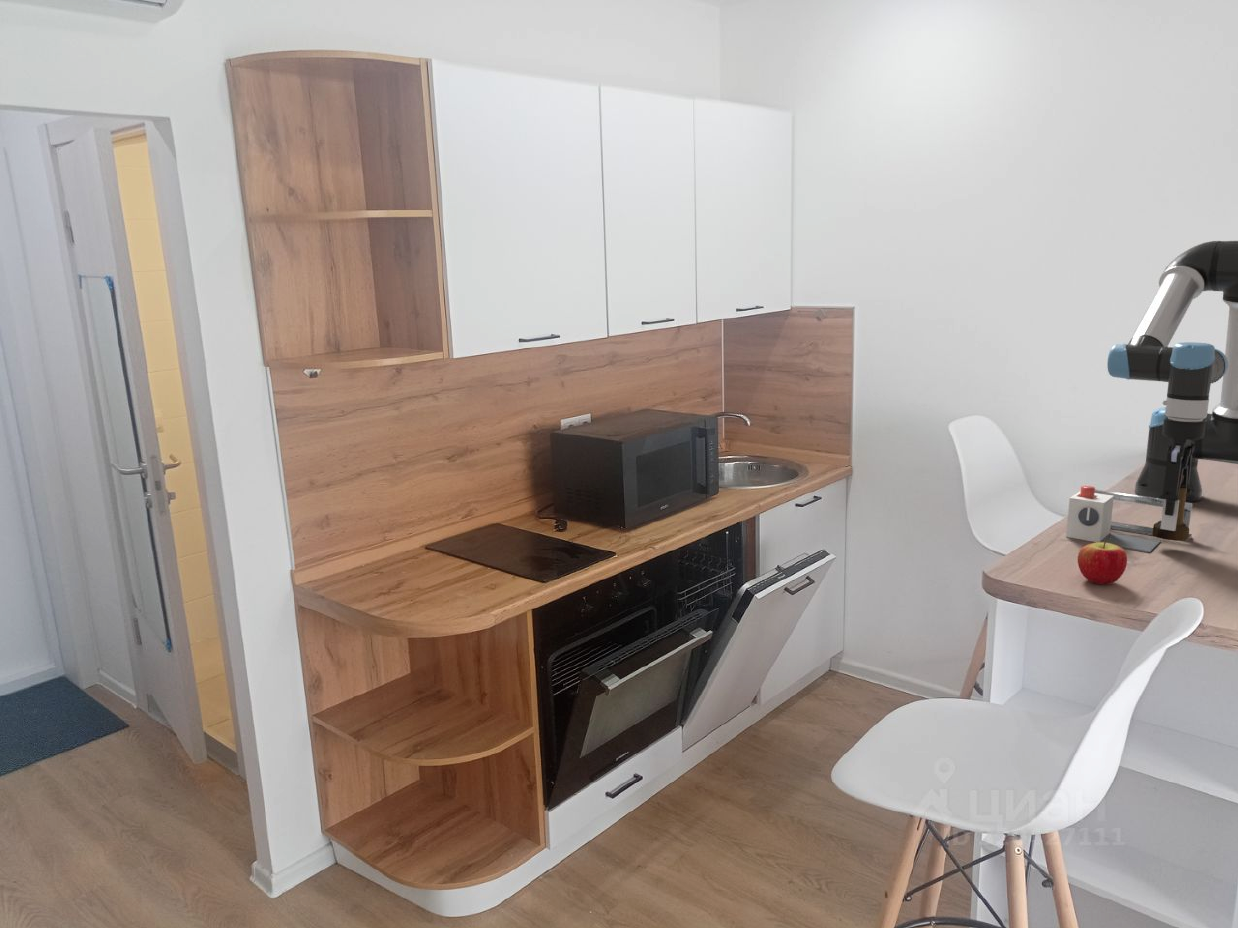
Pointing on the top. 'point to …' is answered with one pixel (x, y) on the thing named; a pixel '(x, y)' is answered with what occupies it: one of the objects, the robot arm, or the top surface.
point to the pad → (1131, 542)
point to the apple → (1102, 562)
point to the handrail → (1145, 501)
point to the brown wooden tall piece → (1181, 528)
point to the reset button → (1087, 492)
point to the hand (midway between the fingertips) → (1171, 525)
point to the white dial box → (1089, 517)
